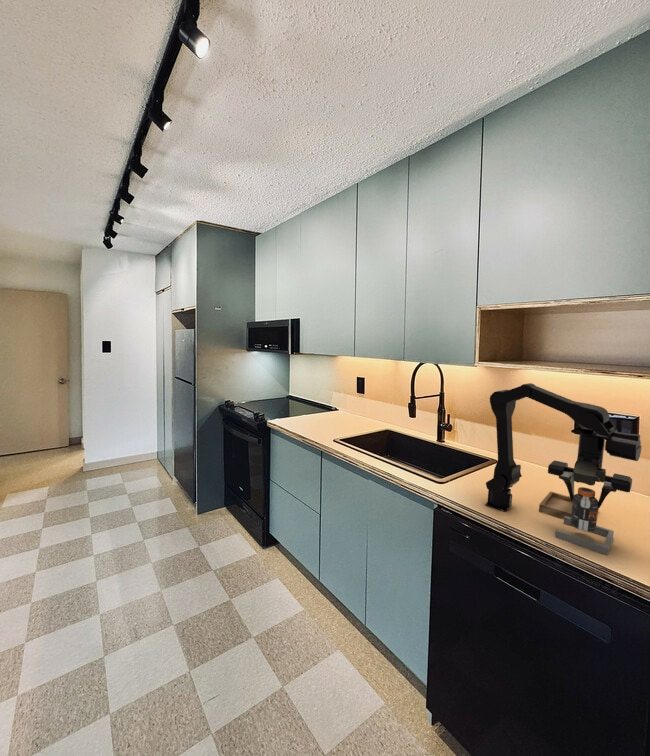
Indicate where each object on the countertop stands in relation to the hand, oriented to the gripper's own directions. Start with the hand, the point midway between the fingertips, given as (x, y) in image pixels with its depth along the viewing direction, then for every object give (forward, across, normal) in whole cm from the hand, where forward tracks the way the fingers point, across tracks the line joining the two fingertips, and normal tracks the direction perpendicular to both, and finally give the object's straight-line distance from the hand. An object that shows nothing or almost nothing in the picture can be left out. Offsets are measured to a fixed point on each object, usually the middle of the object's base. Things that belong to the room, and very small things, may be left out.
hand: (585, 503), depth 102 cm
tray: (+10, -6, +15) cm, 19 cm away
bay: (+10, 0, 0) cm, 10 cm away
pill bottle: (+7, 0, 0) cm, 7 cm away
